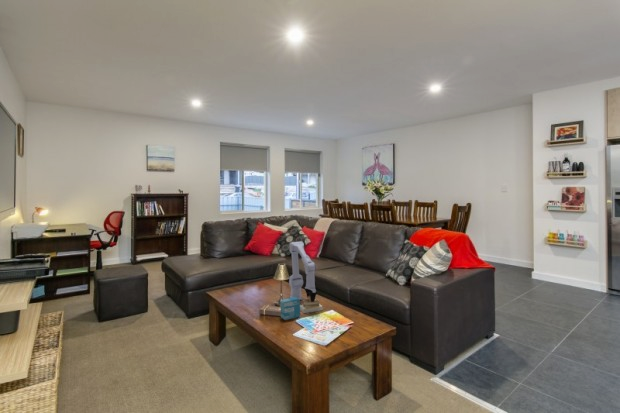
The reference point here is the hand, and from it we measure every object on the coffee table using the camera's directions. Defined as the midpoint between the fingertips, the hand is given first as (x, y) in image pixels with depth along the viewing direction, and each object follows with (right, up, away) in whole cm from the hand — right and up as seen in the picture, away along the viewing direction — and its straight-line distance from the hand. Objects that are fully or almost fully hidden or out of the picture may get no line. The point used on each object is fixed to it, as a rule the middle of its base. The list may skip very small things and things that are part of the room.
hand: (310, 299), depth 217 cm
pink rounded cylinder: (0, -1, 0) cm, 1 cm away
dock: (0, -7, 0) cm, 7 cm away
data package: (-13, -8, -13) cm, 20 cm away
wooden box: (0, -4, 0) cm, 4 cm away
